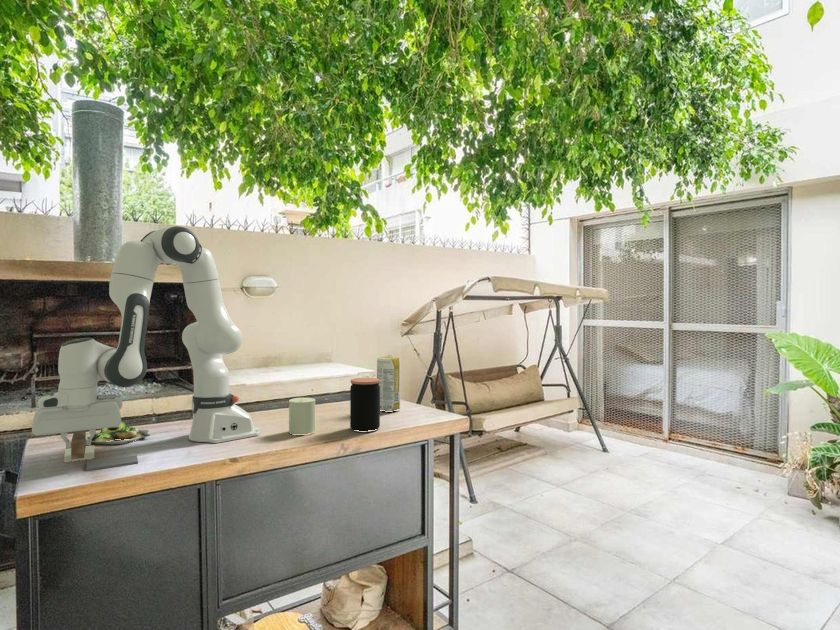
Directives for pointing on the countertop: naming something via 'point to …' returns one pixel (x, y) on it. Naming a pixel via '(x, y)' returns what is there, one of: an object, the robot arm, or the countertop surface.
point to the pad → (112, 462)
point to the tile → (88, 455)
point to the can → (301, 415)
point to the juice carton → (389, 382)
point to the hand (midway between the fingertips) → (78, 446)
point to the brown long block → (78, 445)
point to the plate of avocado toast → (119, 435)
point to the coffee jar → (365, 404)
